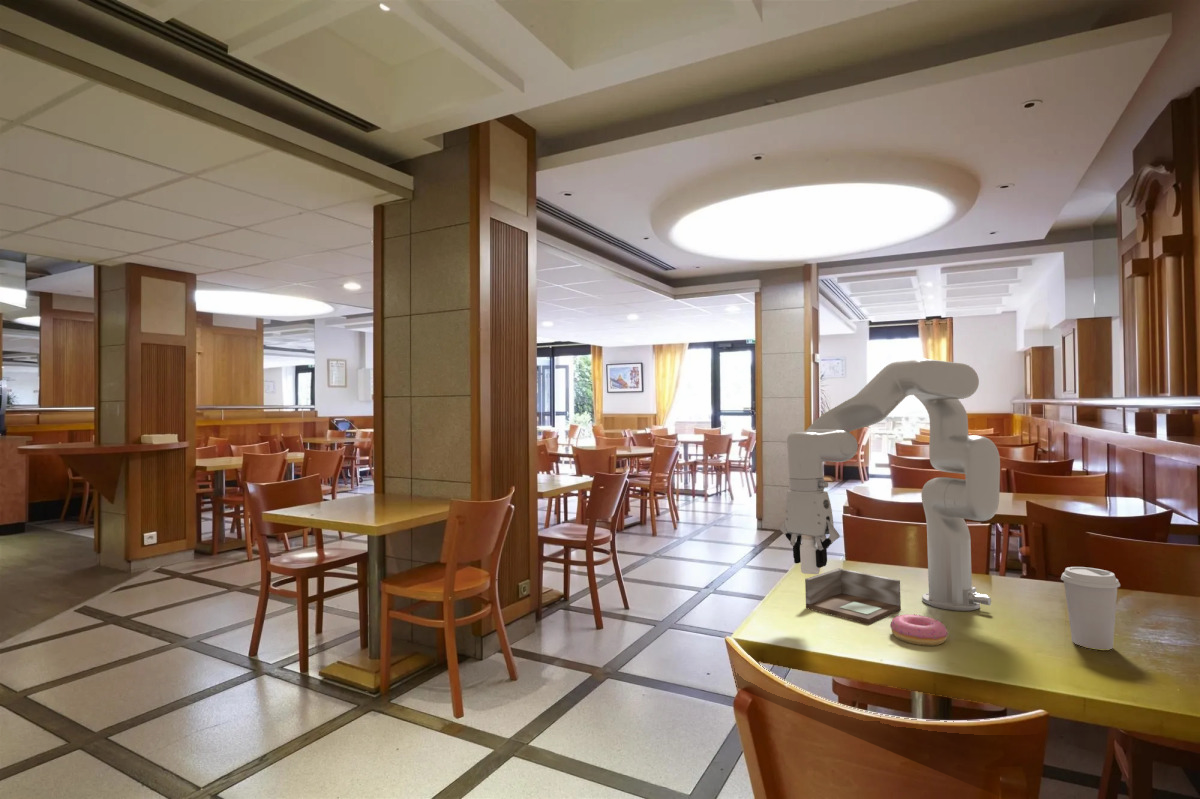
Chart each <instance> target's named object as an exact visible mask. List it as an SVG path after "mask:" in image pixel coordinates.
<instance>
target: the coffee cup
mask: <svg viewBox="0 0 1200 799" xmlns="http://www.w3.org/2000/svg"><path fill="white" fill-rule="evenodd" d="M1060 580H1061V581H1063V583H1064V585H1063V586H1064V592H1065V593H1064V594H1065V599H1066V605H1067V613H1068V620H1069V621H1068V622H1069V627H1070V632H1071V633H1070V634H1071V642H1072V643H1073V642H1074V643H1075V644H1078V645H1080V646H1084V647H1088V648H1095V649H1112V648H1113V649H1114V639H1115V623H1116V611H1117V610H1116V608H1117V598H1118V596H1117V595H1118V588H1121V583H1120V582H1119V579H1118V578H1116V575H1115V573H1114V572H1112V571H1109V570H1106V569H1105V570H1104V569H1100V568H1094V567H1085V566H1070V567H1069V566H1068V567H1065V569H1064V572H1062V573H1061V577H1060ZM1074 643H1073V644H1074ZM1075 644H1074V645H1075ZM1080 646H1079V647H1080ZM1113 649H1112V650H1113Z"/></svg>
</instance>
